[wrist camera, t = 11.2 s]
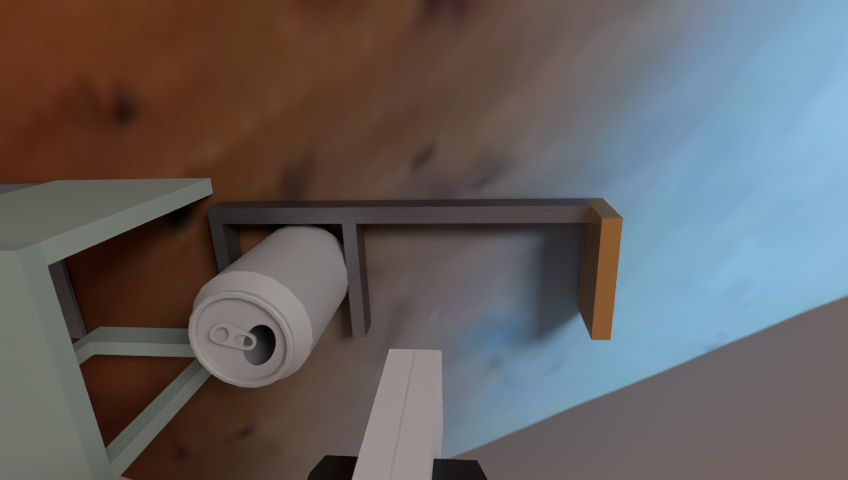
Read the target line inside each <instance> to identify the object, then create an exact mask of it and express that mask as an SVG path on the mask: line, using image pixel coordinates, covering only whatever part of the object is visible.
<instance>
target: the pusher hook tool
mask: <svg viewBox="0 0 848 480" xmlns="http://www.w3.org/2000/svg"><path fill="white" fill-rule="evenodd" d="M207 213H208V219H209V224H210V229H211V234H212V239H213V245H214V250H215V255H216V260H217V266H218V271H219V273H221V272H222V271H223V270H225V269H226V268H227V267H229V266H230V265H231V264H233V263H234V262H235V261H237V260H238V259H239V258H241V257H242V252H241V246H240V241H239V235H238V229H237V224H342V229H343V239H344V249H345V260H346V270H347V280H348V291H349V301H350V312H351V322H352V332H353V337H366V334H367V332H368V330H369V328H370V325H371V318H370V306H369V294H368V282H367V269H366V257H365V245H364V233H363V224H391V223H583V230H582V243H581V257H580V270H579V283H578V297H577V307H578V309H579V312H580V314H581V316H582V319H583V321H584V323H585V326H586V328H587V330H588V333H589V335H590V337H591V340H610V338H611V328H612V318H613V308H614V299H615V289H616V279H617V269H618V260H619V250H620V240H621V230H622V221H623V218H622V217H621V216H620V215H619V214H618V213H617V212H616V211H615V210H614V209H613V208H612V207H611V206H610V205H609V204H608V203H607V202H606V201H605V200H604V199H603V198H572V199H463V200H354V201H245V202H219V203H217V204H215V205H213V206H211V207H209V208H207Z"/></svg>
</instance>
